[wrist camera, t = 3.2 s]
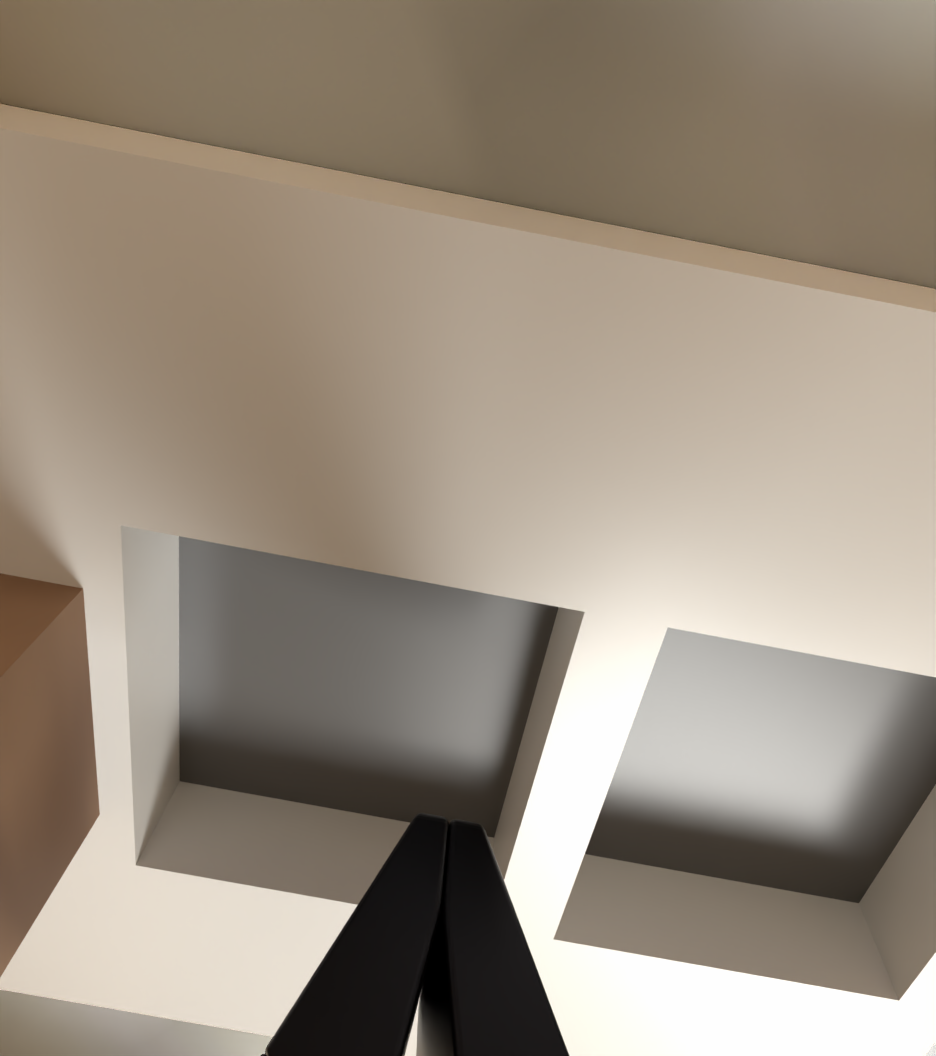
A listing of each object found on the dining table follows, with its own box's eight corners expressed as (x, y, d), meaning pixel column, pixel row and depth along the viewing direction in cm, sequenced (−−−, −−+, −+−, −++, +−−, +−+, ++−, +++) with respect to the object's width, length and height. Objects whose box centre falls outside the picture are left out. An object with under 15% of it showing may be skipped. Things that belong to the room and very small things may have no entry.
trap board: (820, 1023, 16) (917, 1327, 12) (-370, 814, 15) (-682, 1059, 11) (1279, 356, 9) (1844, 542, 5) (-793, -54, 9) (-1895, -188, 5)
